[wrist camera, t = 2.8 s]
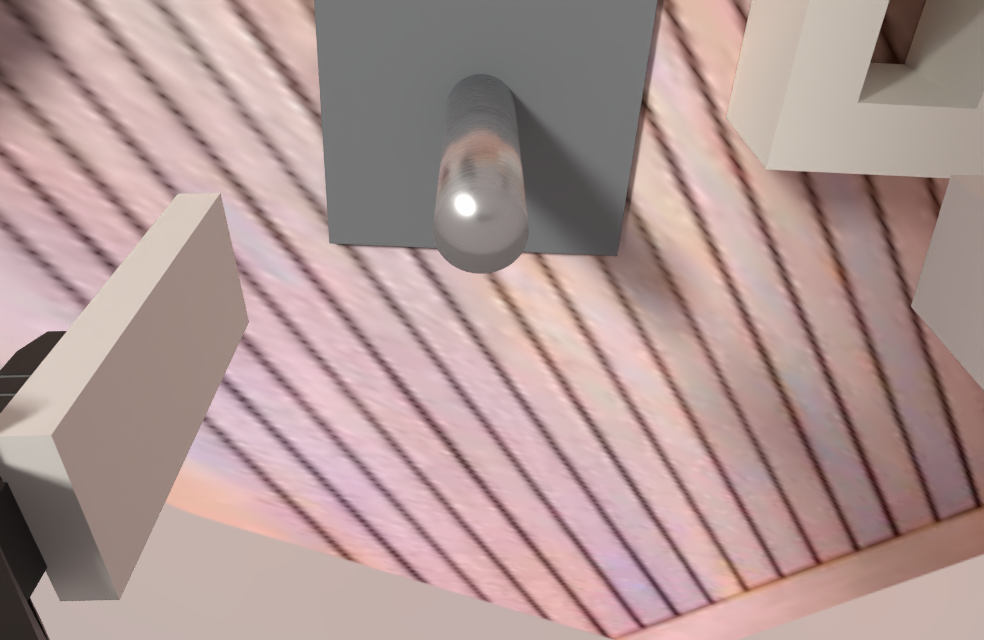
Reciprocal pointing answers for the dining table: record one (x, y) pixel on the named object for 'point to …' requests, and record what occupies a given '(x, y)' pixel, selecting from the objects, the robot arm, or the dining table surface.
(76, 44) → the dining table surface
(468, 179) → the peg
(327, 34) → the mat
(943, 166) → the block
